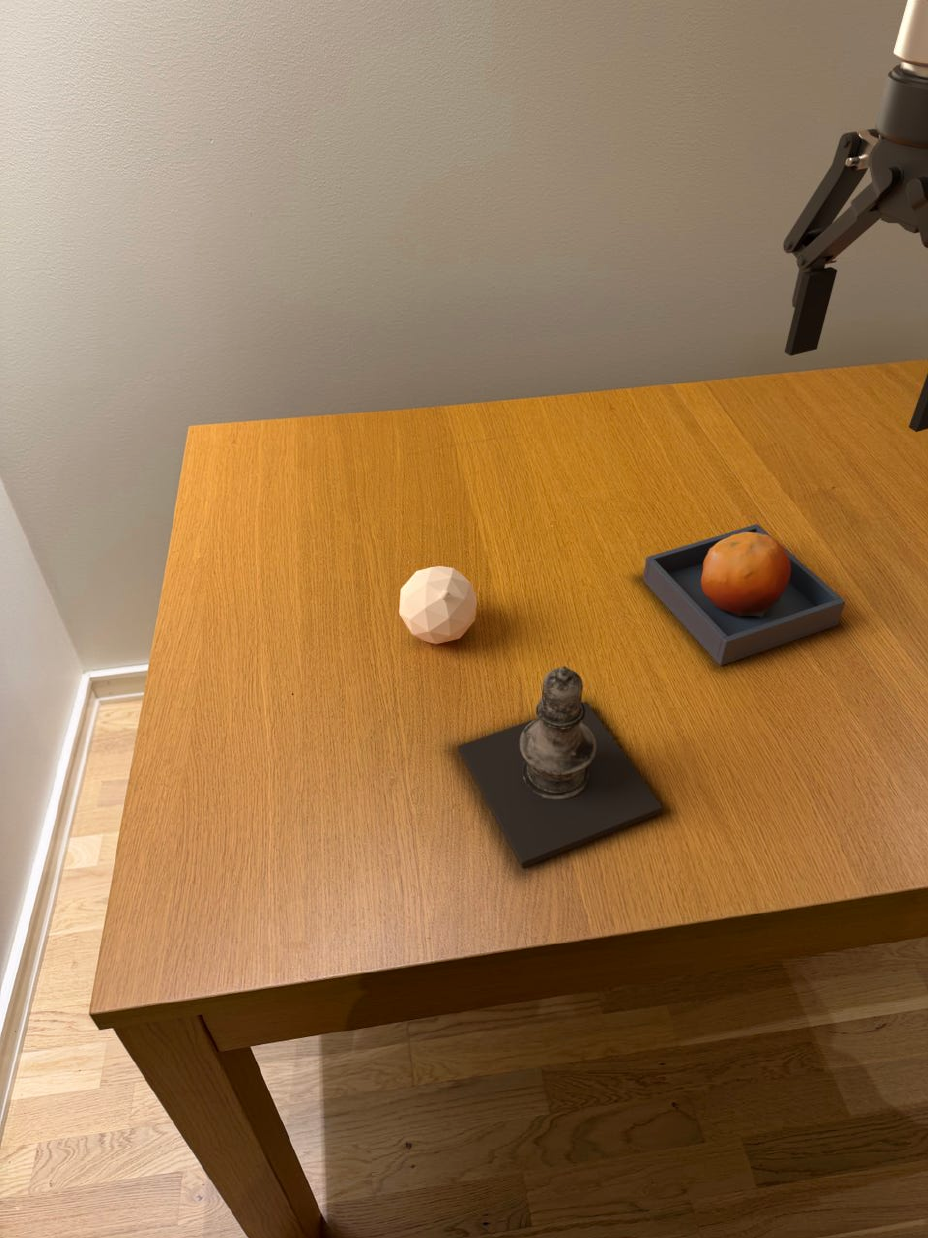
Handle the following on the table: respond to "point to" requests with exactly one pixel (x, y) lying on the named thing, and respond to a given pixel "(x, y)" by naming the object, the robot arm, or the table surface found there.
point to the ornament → (438, 604)
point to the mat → (557, 823)
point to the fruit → (745, 573)
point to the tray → (731, 635)
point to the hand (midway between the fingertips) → (859, 386)
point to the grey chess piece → (558, 739)
